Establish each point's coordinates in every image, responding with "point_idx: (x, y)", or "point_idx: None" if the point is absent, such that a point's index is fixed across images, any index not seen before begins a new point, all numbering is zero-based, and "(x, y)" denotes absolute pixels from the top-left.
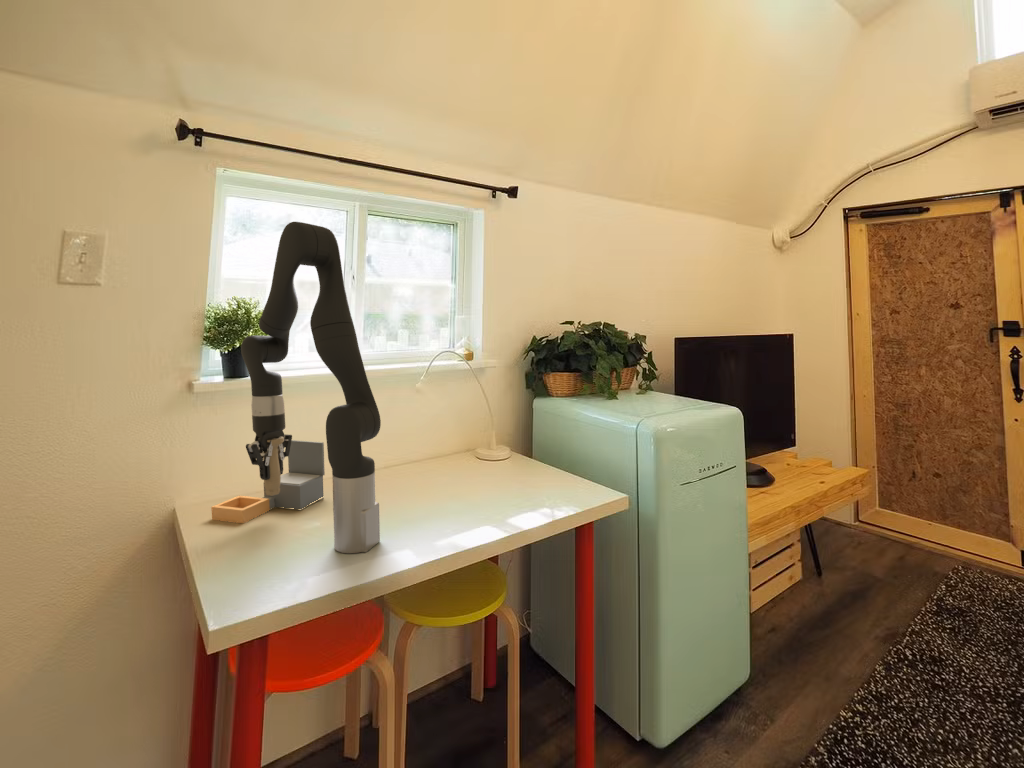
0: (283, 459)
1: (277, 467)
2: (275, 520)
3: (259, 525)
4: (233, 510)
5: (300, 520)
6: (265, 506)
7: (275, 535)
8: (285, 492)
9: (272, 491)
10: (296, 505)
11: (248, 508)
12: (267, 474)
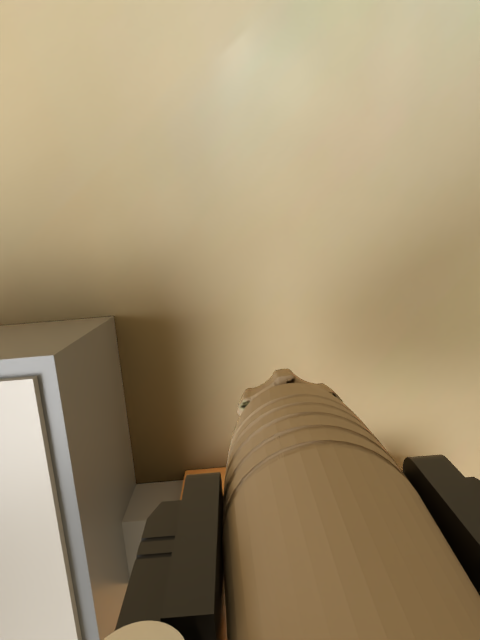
0: (120, 636)
1: (343, 498)
2: (280, 335)
3: (360, 360)
4: None
5: (234, 200)
6: None
7: (443, 172)
8: (96, 463)
9: (334, 393)
10: (109, 350)
11: None
12: (473, 488)
